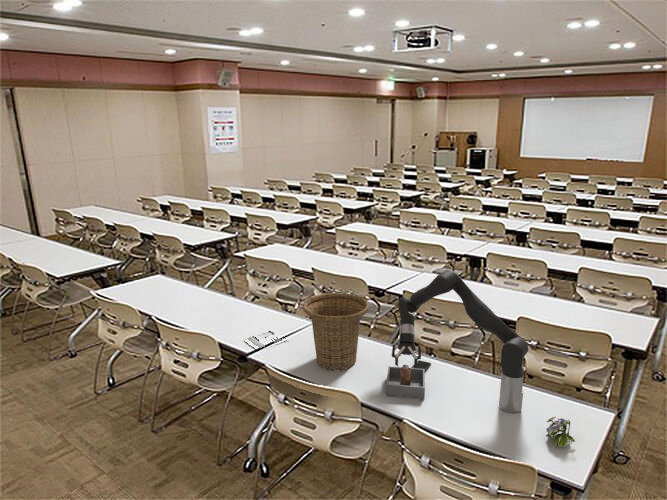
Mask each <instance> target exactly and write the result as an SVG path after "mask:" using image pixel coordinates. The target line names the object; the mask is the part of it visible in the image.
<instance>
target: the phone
mask: <svg viewBox="0 0 667 500" xmlns="http://www.w3.org/2000/svg"><path fill="white" fill-rule="evenodd" d="M431 366H432V363H431V362H430V361H429V362H427V361H424V360H421V359H418V360H417V366H416V368H418V369H425V374H426V372H427V371H429V368H430V367H431ZM411 368H415V367H414V364H413V365H412V366H411Z"/></svg>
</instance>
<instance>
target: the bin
mask: <svg viewBox="0 0 667 500" xmlns="http://www.w3.org/2000/svg"><path fill="white" fill-rule="evenodd" d="M387 368H388V369H387V376H386V382H385V397H391V398H392V397H393V398H402V399H403V398H406V399H415V400H416V399H418V400H425V398H426V397H425V392H426V381H425V377H426V376H425V374H426V373H425V369H418V368H412V367H409V368H410V369H411V382H410V386H406V385H400V368H401V366H390V365H389V366H388V367H387Z"/></svg>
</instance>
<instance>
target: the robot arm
mask: <svg viewBox="0 0 667 500" xmlns="http://www.w3.org/2000/svg"><path fill="white" fill-rule="evenodd" d="M452 290H453V291H454V292H455V293H456V294H457V296H459V298H460V299H461V301H462V304H463V307H464V309H465V313H466V315H467V316H468V317H469V318H470V319H471V320H472V321H473V323H475V324H476V325H477V326H478V327H480V328H481V329H483V330H485V331H487V332H489V333H491V334H493V335H495V336H496V337H497V338H498V339H499V340H500V341H501V342H502V343H503V345H502V348H501V353H500V354H501V355H500V357H501V358H500V367H501V375H500V376H501V377H500V390H499V398H498V408H499V409H501V410H502V411H503V412H505V413H510V414H516V413H522V408H523V400H524V392H523V385H524V374H525V370H524V366H523V360H524V359H523V358H524V357H526V355H527V354H528V352H529V345H528V343H527V342H526V340H525V339H524V338H523V337H522V336H520V335H519V334H518V333H517V332H515V331H514V330H513V329H511V328H510V327H509V326H508V325H507V324H506V323H505V322H504V321H503V320H501V318H500V317H499V316H498V315H497V314H495V312H493V310H492V309H491V308H490V307H489V306H488V305H487V304H486V303H485V302H483V301H482V300H481V299H480V297H478V296H477V295H476V294H475V293H474V292H473V291H472V289H471V288H470V287H469V286H468V285H467V284H466V282H464V280H463V279H462V278H461V276H459V274H458V273H457V272H456V271H454V270H452V269H445V270H444V271H442V272H441V273H438V274H437V276H436V277H435V278H434V279H433V280H432V281H431V282H430V283H429V284H428V285H426V286H424V287H422V288H420V289H418V290H416V291H415V292H414V293H412V294H411V295H410V297H407V296H401V297H400V298H399V299H398V302H397V309H398V313H399V316H400V326H399V336H398V337H399V341H398V344H397V345H396V344H394V343H393V344H392V350H391V357H392V358H393V359H394V364H395V367H399V358H400V357H401V356H402V355H404V356H406V355H407V356H410V355H411V357H412V358H413V365H414V367H415V368H416V366H417V361H418V360H421V359H422V346H421V345H419V346H416V345H415V340H416V339H415V337H416V336H415V335H416V334H415V316H414V315H412V314H413V313H417V312H418V310H419V309H420V308H421V306H422V305H424V304H425V303H427V302H429V301H430V300H432V299H433V298H435V297H437V296H438V297H439V296H441V295H444V294H446V293H450V292H451V291H452ZM397 349H398V350H399V351H397ZM415 350H416V352H418V355H417V354H416V353H415ZM396 351H397V354H395V352H396Z"/></svg>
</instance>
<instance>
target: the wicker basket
mask: <svg viewBox="0 0 667 500" xmlns="http://www.w3.org/2000/svg"><path fill="white" fill-rule="evenodd" d="M369 305H370V304H369V302H368V301H367V300H366V299H365V298H363V297H361V296H358V295H357V294H356V295H355V294H351V293H344V292H341V293H340V292H332V293H330V292H329V293H323V294H318V295H314V296H311V297H309V298H307V299H306V300H304V302H303V304H302V311H303V313H304V314H305V315H306V316H308V317H310V318H311V325H312V332H313V333H312V334H313V340H314V341H313V342H314V348H315V349H314V350H315V356H316V357H315V358H316V363H317V364H318V366H319V367H322V369H328V370H329V371H332V370H334V371H339V370H340V369H341V370H342V371H343V370H346V369H351V367H352V366H354V365H355V363H356V362H357V361H356V360H357V354H358V344H359V336H360V327H361V325H360V323H361V317H362V316H364V315H366V314H367V313H368V311H369V308H370V306H369Z"/></svg>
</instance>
